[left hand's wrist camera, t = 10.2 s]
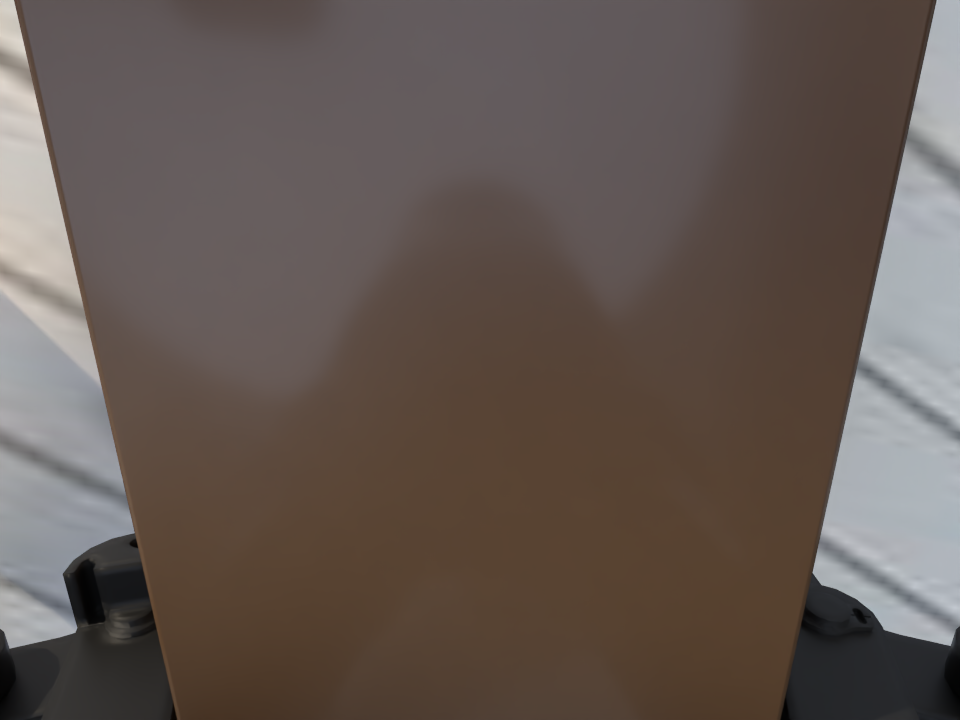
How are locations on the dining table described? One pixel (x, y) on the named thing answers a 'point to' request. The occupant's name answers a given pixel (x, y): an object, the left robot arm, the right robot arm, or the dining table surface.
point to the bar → (476, 334)
